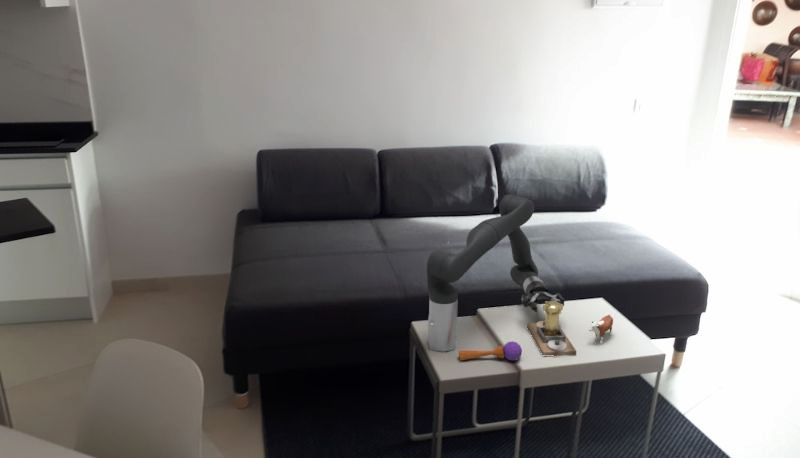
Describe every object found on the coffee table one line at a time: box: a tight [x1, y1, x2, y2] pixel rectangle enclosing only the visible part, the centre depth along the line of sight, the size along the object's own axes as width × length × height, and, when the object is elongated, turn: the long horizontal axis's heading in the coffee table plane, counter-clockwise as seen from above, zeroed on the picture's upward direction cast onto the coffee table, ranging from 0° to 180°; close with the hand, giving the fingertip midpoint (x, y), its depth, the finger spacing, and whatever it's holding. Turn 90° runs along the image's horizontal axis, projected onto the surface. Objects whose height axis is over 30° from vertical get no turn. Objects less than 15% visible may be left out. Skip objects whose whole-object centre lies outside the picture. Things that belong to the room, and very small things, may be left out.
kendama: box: [458, 340, 523, 362], centre depth 202 cm, size 6×6×20 cm
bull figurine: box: [588, 314, 614, 345], centre depth 213 cm, size 4×13×8 cm, turn 135°
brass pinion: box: [542, 301, 564, 336], centre depth 211 cm, size 6×6×12 cm
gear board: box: [526, 320, 577, 357], centre depth 213 cm, size 11×20×4 cm, turn 4°
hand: (548, 309), depth 215 cm, fingers open, 8 cm apart
